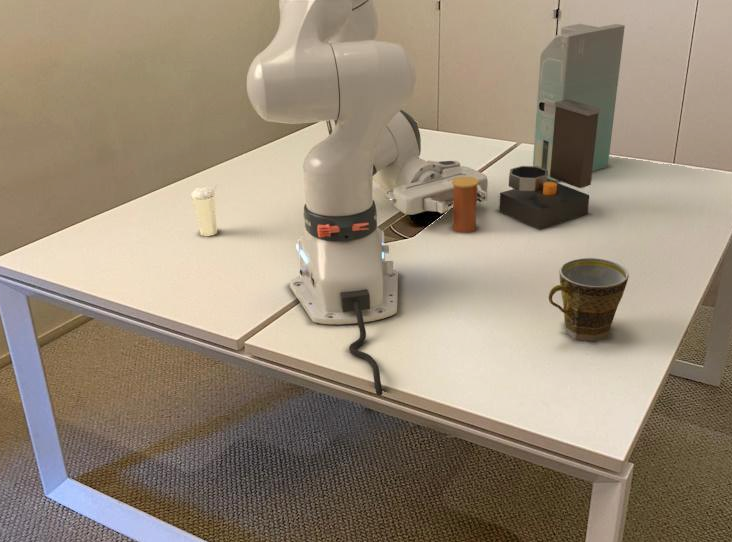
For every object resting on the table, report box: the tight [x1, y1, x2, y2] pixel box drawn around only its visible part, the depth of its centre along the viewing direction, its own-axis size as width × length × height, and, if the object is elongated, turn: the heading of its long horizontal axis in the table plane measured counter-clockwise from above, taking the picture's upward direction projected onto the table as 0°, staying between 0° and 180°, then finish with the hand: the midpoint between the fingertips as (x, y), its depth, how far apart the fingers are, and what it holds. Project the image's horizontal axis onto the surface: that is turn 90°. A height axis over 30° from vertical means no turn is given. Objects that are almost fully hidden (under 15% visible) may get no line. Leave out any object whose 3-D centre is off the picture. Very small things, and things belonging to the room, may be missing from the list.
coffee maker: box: [508, 99, 600, 191], centre depth 163 cm, size 12×13×15 cm
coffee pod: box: [452, 177, 479, 233], centre depth 162 cm, size 5×5×10 cm
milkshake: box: [190, 184, 218, 237], centre depth 164 cm, size 4×5×10 cm
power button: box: [543, 181, 558, 195], centre depth 163 cm, size 3×3×2 cm
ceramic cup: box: [548, 257, 630, 343], centre depth 126 cm, size 13×10×10 cm
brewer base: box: [498, 178, 590, 230], centre depth 168 cm, size 13×13×6 cm
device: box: [532, 23, 626, 183], centre depth 183 cm, size 16×8×30 cm, turn 124°
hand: (465, 203), depth 162 cm, fingers open, 8 cm apart
